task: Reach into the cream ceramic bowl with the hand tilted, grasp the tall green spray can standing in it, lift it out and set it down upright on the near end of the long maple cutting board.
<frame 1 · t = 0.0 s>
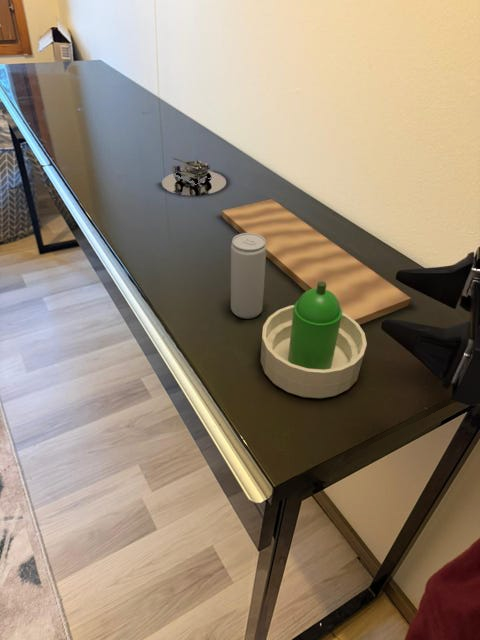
hand: (389, 297, 47), 15 cm above the table, tool horizontal, fingers open, 9 cm apart
beverage can: (246, 311, 69), on the table
green spray can: (309, 360, 60), resting on bowl
grey wheeled model: (194, 182, 107), on the table
bowl: (309, 363, 61), on the table
cutting board: (302, 255, 82), on the table
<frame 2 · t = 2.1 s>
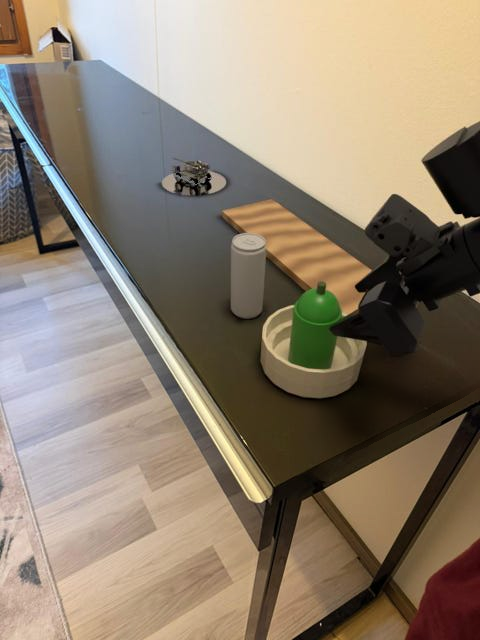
hand: (344, 308, 53), 10 cm above the table, tool tilted 45°, fingers open, 9 cm apart
nothing on the table moved.
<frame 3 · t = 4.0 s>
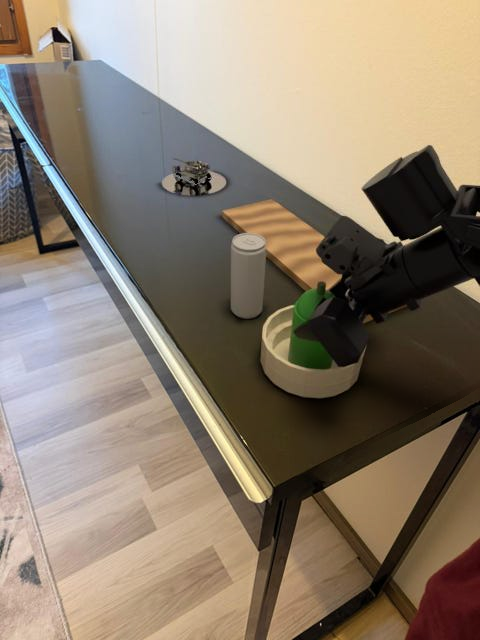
hand: (305, 319, 57), 7 cm above the table, tool tilted 45°, fingers closed on green spray can, 6 cm apart
green spray can: (309, 360, 60), point 1 cm above the table, touching bowl, gripper
everything else where it was.
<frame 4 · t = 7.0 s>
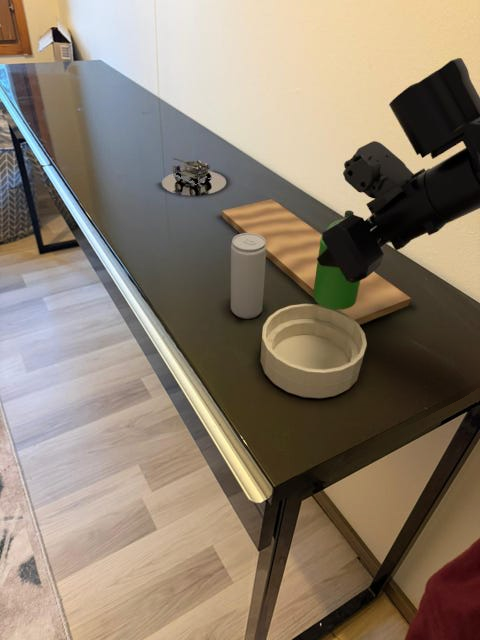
hand: (332, 252, 58), 13 cm above the table, tool tilted 45°, fingers closed on green spray can, 6 cm apart
green spray can: (334, 296, 62), point 6 cm above the table, touching gripper
everything else where it was.
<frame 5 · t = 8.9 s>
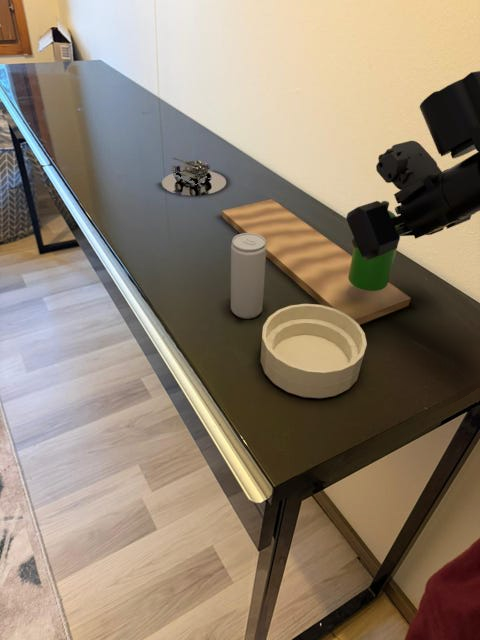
hand: (369, 238, 65), 11 cm above the table, tool tilted 45°, fingers closed on green spray can, 6 cm apart
green spray can: (367, 279, 68), point 4 cm above the table, touching gripper
everything else where it was.
when the fingers open (8 cm above the table, at t = 10.3 s): green spray can stays where it is, resting on cutting board.
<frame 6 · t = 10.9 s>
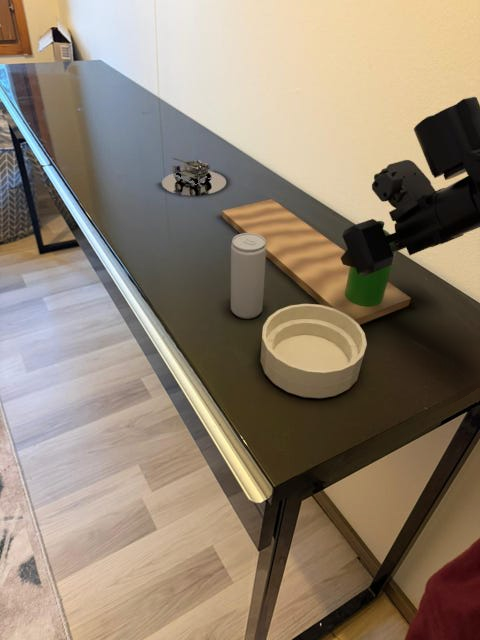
hand: (365, 252, 67), 8 cm above the table, tool tilted 45°, fingers open, 9 cm apart
green spray can: (363, 295, 70), point 1 cm above the table, touching cutting board
everything else where it was.
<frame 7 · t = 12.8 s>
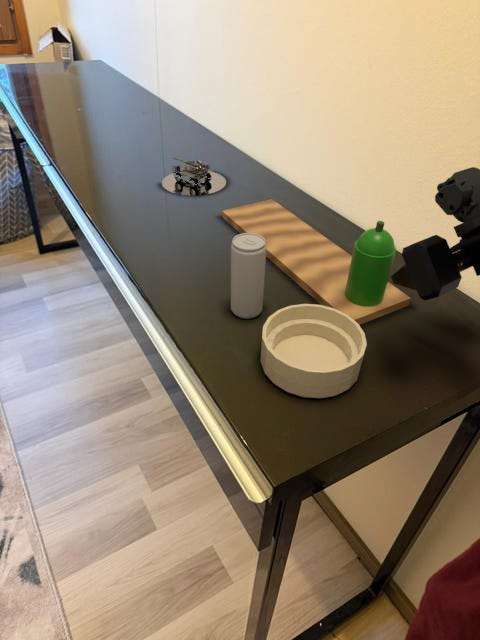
hand: (417, 269, 60), 10 cm above the table, tool tilted 45°, fingers open, 9 cm apart
nothing on the table moved.
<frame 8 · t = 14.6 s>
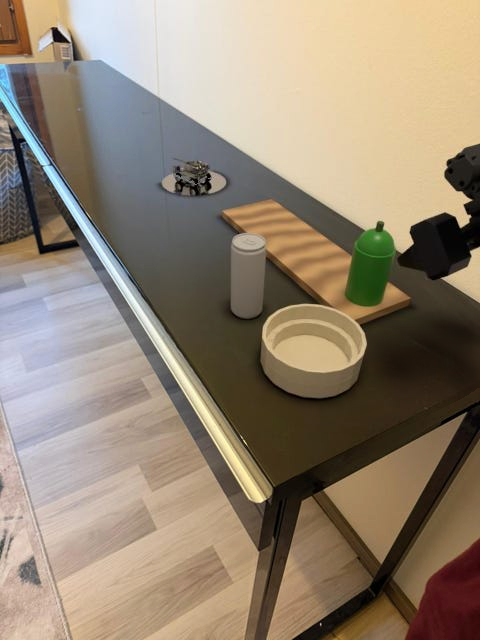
hand: (423, 251, 58), 13 cm above the table, tool tilted 45°, fingers open, 9 cm apart
nothing on the table moved.
at the end: green spray can inside the target area on the cutting board (0.1 cm from its centre), point 1.5 cm above the cutting board's base; green spray can tilted 0°; the gripper is holding nothing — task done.
